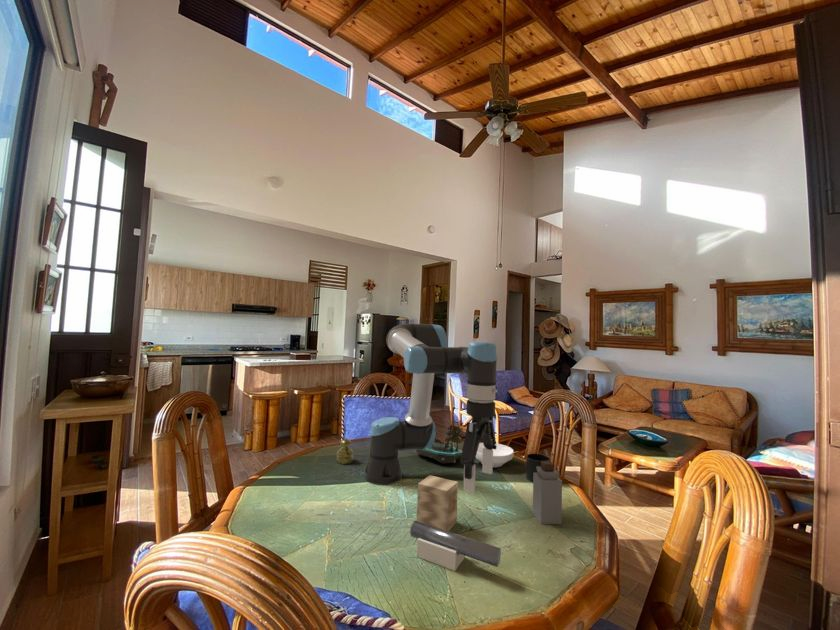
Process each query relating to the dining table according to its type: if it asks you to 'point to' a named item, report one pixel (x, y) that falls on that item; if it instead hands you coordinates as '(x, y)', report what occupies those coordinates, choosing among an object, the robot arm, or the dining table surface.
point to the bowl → (496, 454)
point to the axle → (457, 543)
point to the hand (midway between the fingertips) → (478, 481)
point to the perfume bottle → (547, 494)
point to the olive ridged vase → (345, 452)
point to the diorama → (445, 447)
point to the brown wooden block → (437, 502)
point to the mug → (534, 464)
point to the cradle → (439, 554)
